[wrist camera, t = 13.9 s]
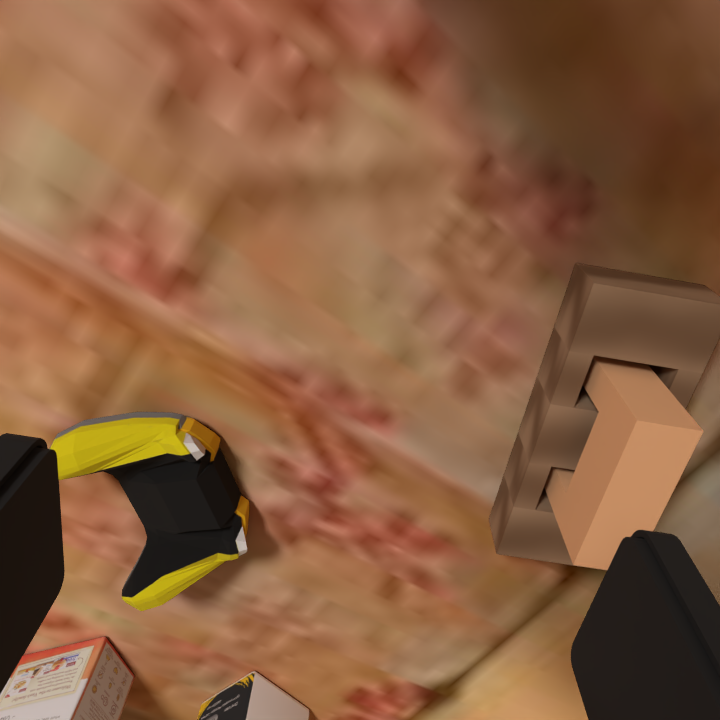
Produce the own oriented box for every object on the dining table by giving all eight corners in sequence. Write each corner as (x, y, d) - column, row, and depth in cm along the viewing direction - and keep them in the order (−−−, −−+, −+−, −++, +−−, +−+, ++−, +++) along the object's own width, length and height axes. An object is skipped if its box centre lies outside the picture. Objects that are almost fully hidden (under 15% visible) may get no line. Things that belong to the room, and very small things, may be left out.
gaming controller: (153, 566, 49) (272, 542, 48) (128, 624, 45) (260, 599, 43) (62, 409, 43) (197, 376, 42) (22, 456, 38) (172, 421, 37)
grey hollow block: (575, 262, 37) (593, 283, 34) (704, 285, 38) (734, 307, 34) (488, 519, 46) (496, 554, 43) (593, 535, 47) (608, 570, 43)
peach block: (584, 343, 40) (637, 420, 32) (638, 352, 40) (703, 431, 32) (537, 469, 44) (573, 564, 36) (585, 477, 44) (631, 573, 36)
